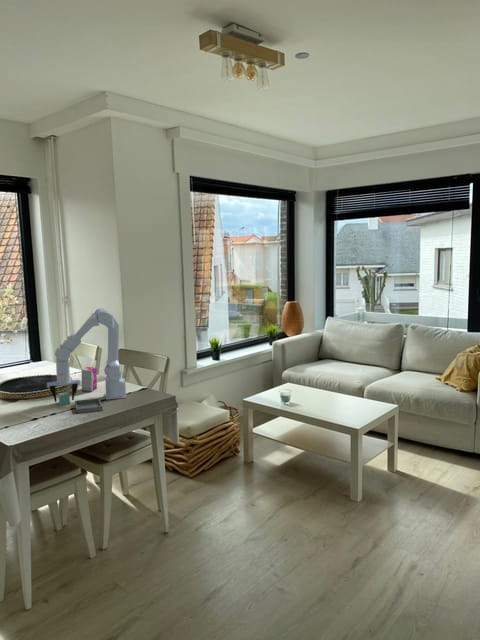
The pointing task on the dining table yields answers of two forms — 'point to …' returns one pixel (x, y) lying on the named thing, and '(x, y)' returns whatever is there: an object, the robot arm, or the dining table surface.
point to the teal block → (64, 398)
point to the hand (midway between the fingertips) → (64, 400)
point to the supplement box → (89, 379)
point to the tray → (88, 405)
